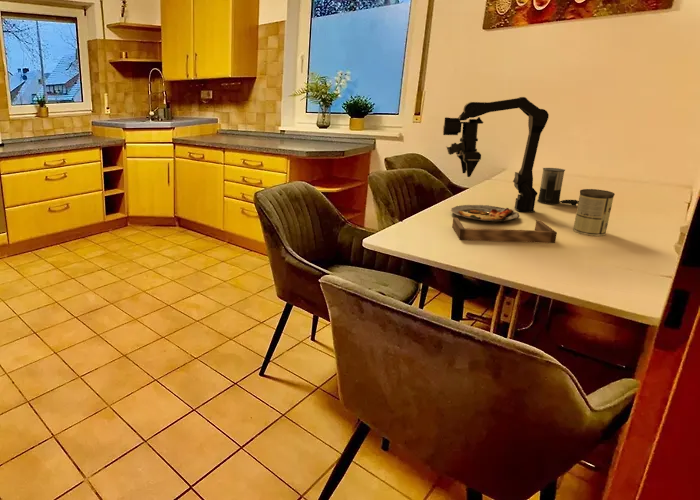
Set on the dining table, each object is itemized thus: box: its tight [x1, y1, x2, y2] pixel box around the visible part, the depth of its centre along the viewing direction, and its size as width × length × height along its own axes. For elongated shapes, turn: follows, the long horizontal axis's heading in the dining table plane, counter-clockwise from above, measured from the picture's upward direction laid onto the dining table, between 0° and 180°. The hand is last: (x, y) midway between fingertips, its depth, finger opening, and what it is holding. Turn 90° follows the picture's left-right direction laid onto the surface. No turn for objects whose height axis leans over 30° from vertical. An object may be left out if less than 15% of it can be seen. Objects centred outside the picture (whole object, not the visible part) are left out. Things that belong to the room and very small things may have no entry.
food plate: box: [450, 204, 520, 222], centre depth 171 cm, size 25×23×4 cm
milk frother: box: [537, 167, 579, 207], centre depth 193 cm, size 14×16×15 cm
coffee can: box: [572, 188, 615, 237], centre depth 152 cm, size 10×10×14 cm
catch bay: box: [451, 217, 558, 244], centre depth 148 cm, size 30×14×4 cm, turn 87°
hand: (466, 174), depth 181 cm, fingers open, 9 cm apart
